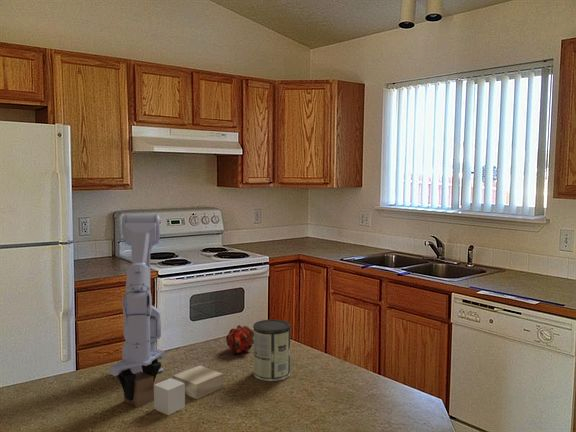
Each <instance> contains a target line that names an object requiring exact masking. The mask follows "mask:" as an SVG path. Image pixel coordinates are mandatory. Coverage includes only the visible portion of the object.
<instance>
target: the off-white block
mask: <svg viewBox="0 0 576 432" xmlns="http://www.w3.org/2000/svg"><path fill="white" fill-rule="evenodd" d="M153 401H154V403H153V404H154V410H155V409H156V411H158V412H160V413H162V414H164V415H167V416H171V415H172V414H174V413H177V412H178V411H181V410H182V409H185V408H186V394H185V383H182V382H180V381H177V380H175V379H173V378H172V377H170V378H167V379H165V380H162V381H160V382H158V383H154V400H153ZM176 411H177V412H176Z"/></svg>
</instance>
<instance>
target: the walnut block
mask: <svg viewBox="0 0 576 432" xmlns="http://www.w3.org/2000/svg"><path fill="white" fill-rule="evenodd" d="M135 374H136V377H135V381H134V396H133V400H131V401H130V400H128V399H126V398H125V394H124V393H123V402H125V403H126V404H129V405H131V406H133V407H135V408H139V407H142V405H145V404H148V403H150V402H153V401H154V385H155V381H154V376H152V375H149V374H146V373H144V372H141V371H140V372H138V373H135Z"/></svg>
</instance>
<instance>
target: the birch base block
mask: <svg viewBox="0 0 576 432" xmlns="http://www.w3.org/2000/svg"><path fill="white" fill-rule="evenodd" d="M172 377H173V378H172V379H175V380H177V381H180V382H182V383H185V396H186V395H187V396H188V397H190V398H192V399H193V398H194V399H195V400H198V399H200V398H203V397H205V396H207V395H209V394H212V393H215V392H217V391H219V390H220V389H224V373H222V372H221V371H220V372H219V371H217V370H215V369H211V368H208V367H206V366H204V365H197V366H194V367H191V368H190V369H187V370H184V371H181V372H179V373H176V374H173V376H172Z"/></svg>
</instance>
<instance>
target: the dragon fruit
mask: <svg viewBox="0 0 576 432" xmlns="http://www.w3.org/2000/svg"><path fill="white" fill-rule="evenodd" d="M225 339H226V344H227V346H228V347H229V349H230V350H231V353H232V354H233V355H235V354H239V353H240V354H241V353H243V352H245V353H247V352H249V350H250V349H252V347H254V330H252V329H251V328H250V327H249V326H248V325H243V326H241V325H239V324H238V325H237V326H236V328H231V329H230V330H229V332H228V334H227V336H226V337H225Z"/></svg>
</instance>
